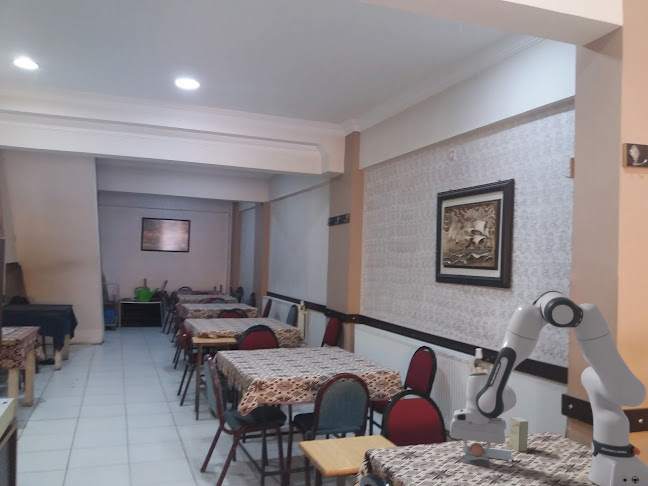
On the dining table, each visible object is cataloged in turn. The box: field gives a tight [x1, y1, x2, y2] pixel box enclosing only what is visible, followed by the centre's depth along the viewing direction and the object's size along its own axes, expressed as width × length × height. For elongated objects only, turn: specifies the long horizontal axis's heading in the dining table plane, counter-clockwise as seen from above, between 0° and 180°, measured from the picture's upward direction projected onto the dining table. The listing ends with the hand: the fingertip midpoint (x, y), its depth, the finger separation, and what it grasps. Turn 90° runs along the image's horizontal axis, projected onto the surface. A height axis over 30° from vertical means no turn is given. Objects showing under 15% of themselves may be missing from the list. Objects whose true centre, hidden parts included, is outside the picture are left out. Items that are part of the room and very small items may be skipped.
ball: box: [470, 442, 484, 457], centre depth 196 cm, size 5×5×5 cm
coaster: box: [463, 454, 490, 467], centre depth 196 cm, size 9×9×1 cm
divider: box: [462, 443, 513, 463], centre depth 200 cm, size 18×5×4 cm, turn 75°
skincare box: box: [508, 416, 529, 452], centre depth 211 cm, size 6×4×12 cm
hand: (476, 452), depth 196 cm, fingers closed on ball, 5 cm apart
